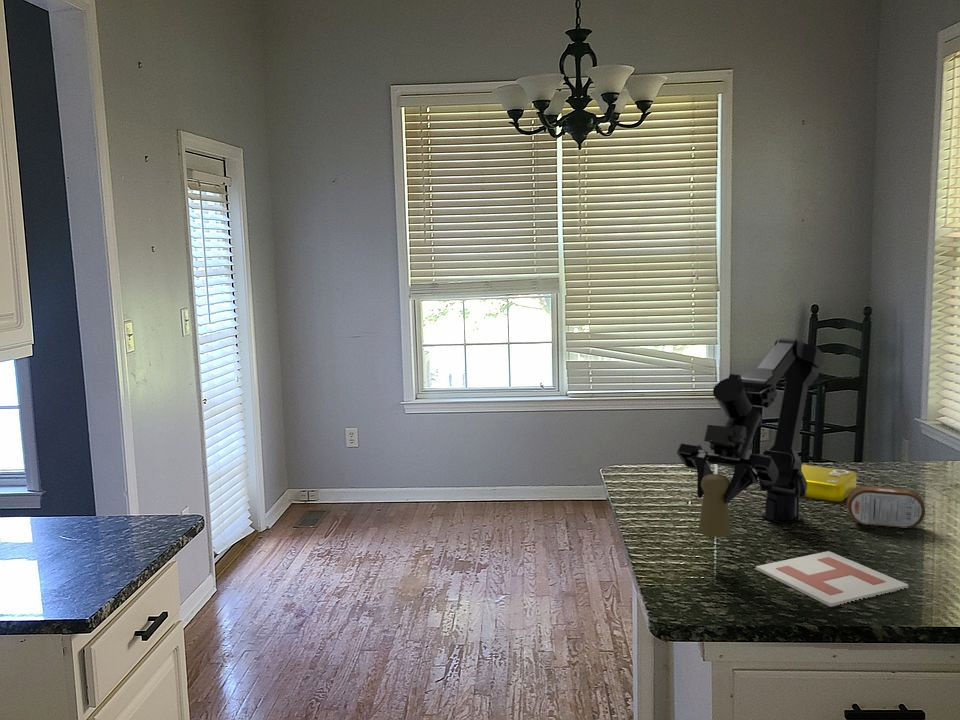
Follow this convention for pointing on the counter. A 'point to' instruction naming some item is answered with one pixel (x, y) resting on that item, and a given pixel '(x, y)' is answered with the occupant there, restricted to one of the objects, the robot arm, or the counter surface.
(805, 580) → the letter board
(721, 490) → the cork
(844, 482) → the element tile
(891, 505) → the tin
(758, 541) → the counter surface
